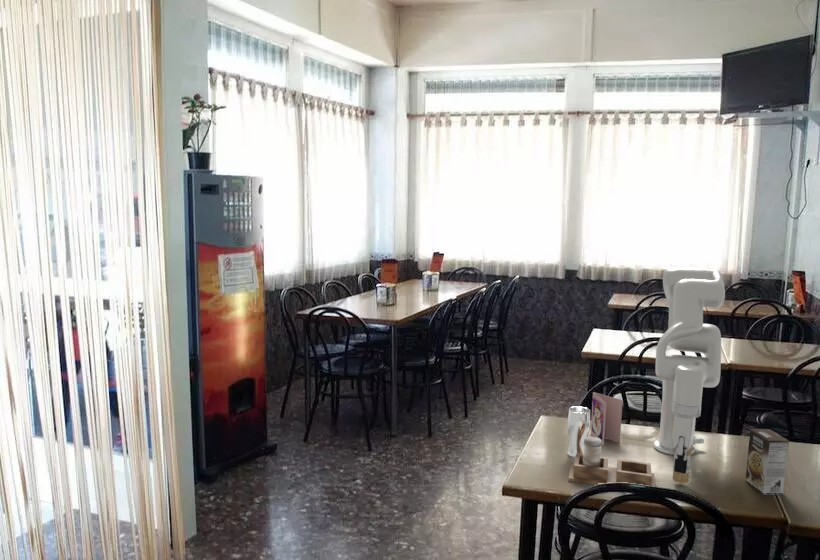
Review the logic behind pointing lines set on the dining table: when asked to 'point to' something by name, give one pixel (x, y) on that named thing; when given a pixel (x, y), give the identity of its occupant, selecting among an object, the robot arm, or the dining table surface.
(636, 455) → the dining table surface
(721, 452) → the dining table surface
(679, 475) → the sprinkles bottle
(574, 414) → the silver metal can
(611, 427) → the greeting card
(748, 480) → the coffee box
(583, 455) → the condiment rack
